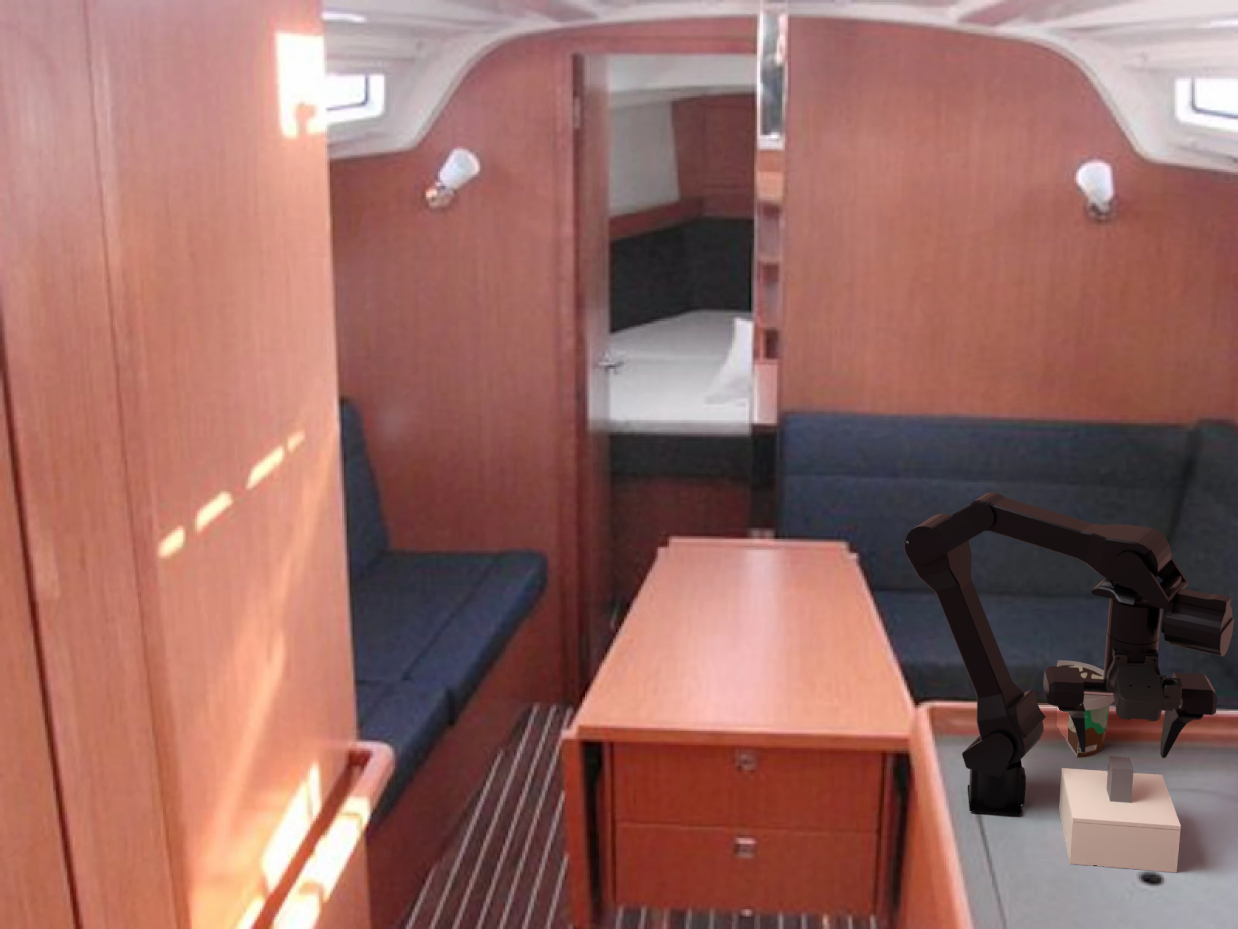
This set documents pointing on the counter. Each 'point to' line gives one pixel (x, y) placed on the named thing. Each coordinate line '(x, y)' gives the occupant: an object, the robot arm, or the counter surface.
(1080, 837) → the carton
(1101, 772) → the lid
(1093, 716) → the food container
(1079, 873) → the counter surface
